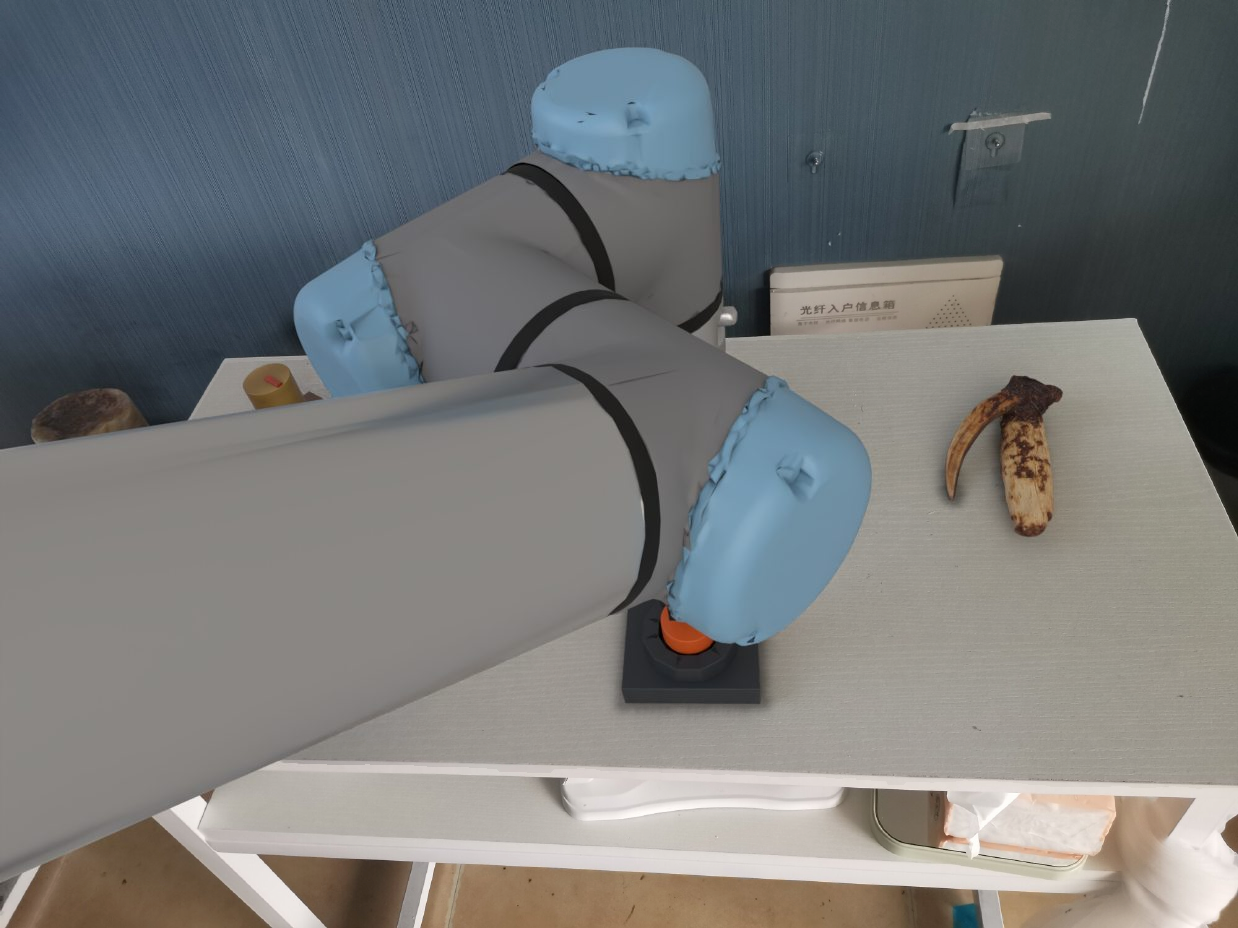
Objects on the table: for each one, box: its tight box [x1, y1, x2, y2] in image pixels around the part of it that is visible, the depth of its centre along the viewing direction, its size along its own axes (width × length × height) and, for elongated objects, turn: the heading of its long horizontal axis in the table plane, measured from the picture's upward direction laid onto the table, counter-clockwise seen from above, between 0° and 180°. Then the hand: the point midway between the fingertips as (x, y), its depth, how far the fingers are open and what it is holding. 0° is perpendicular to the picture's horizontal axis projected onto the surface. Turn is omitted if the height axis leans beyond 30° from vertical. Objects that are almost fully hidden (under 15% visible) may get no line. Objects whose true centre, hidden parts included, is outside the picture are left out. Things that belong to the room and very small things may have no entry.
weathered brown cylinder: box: [30, 387, 150, 444], centre depth 73 cm, size 8×7×20 cm
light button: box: [661, 605, 714, 654], centre depth 65 cm, size 4×4×2 cm
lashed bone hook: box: [944, 374, 1064, 538], centre depth 75 cm, size 9×5×18 cm
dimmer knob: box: [242, 362, 306, 410], centre depth 84 cm, size 4×4×8 cm
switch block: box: [621, 599, 761, 705], centre depth 67 cm, size 10×8×4 cm
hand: (688, 611), depth 64 cm, fingers closed
